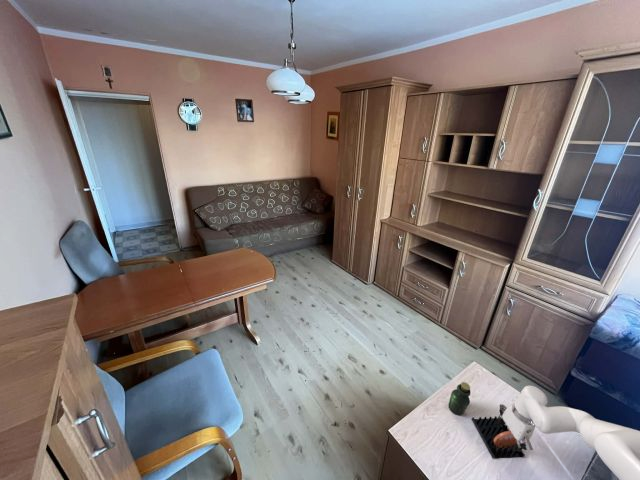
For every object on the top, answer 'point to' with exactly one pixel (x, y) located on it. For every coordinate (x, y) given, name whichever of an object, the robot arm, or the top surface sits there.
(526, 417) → the robot arm
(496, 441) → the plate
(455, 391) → the potion bottle
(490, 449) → the rack
